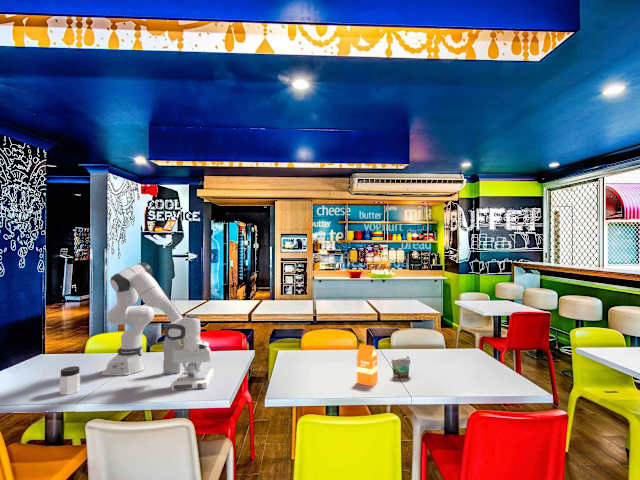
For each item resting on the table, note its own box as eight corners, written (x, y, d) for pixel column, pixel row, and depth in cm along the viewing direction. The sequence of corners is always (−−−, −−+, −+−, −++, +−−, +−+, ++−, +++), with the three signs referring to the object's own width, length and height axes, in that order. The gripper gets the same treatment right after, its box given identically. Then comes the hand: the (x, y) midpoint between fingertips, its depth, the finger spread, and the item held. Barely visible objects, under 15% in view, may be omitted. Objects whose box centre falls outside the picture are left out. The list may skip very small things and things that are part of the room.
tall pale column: (161, 374, 211) (161, 337, 211) (164, 372, 215) (163, 335, 215) (179, 374, 212) (179, 336, 212) (182, 371, 216) (181, 334, 216)
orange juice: (371, 385, 191) (371, 348, 191) (356, 382, 196) (356, 345, 196) (377, 381, 198) (377, 344, 198) (363, 378, 202) (362, 342, 203)
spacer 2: (189, 372, 202) (189, 361, 203) (193, 369, 207) (193, 359, 207) (197, 372, 202) (197, 361, 202) (201, 369, 207) (200, 359, 207)
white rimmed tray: (170, 390, 187) (170, 383, 187) (181, 375, 209) (181, 368, 209) (206, 388, 189) (206, 381, 189) (213, 373, 212) (213, 366, 212)
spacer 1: (186, 376, 194) (186, 365, 194) (188, 373, 198) (188, 362, 198) (195, 376, 194) (195, 365, 194) (197, 373, 199) (197, 362, 199)
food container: (398, 380, 198) (398, 362, 198) (391, 377, 203) (391, 359, 203) (415, 376, 203) (415, 358, 204) (408, 373, 209) (407, 356, 209)
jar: (77, 387, 193) (77, 365, 193) (82, 391, 188) (82, 368, 188) (57, 392, 186) (57, 369, 186) (62, 396, 181) (62, 372, 181)
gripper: (170, 347, 192) (170, 373, 192) (209, 345, 195) (209, 371, 195) (173, 344, 199) (173, 369, 198) (211, 342, 201) (212, 367, 201)
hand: (192, 370), depth 196 cm, fingers closed on spacer 1, 5 cm apart
